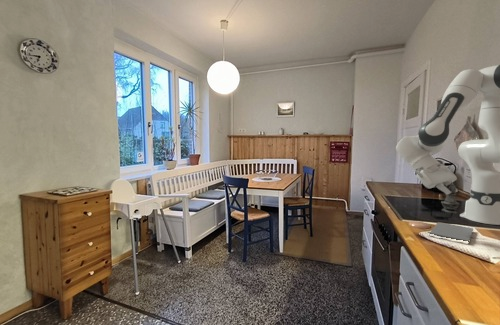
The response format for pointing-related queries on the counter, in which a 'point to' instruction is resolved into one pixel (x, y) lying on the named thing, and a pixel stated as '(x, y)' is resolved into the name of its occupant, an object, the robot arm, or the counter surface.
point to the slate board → (452, 231)
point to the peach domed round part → (419, 225)
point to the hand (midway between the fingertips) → (452, 192)
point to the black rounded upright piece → (450, 200)
